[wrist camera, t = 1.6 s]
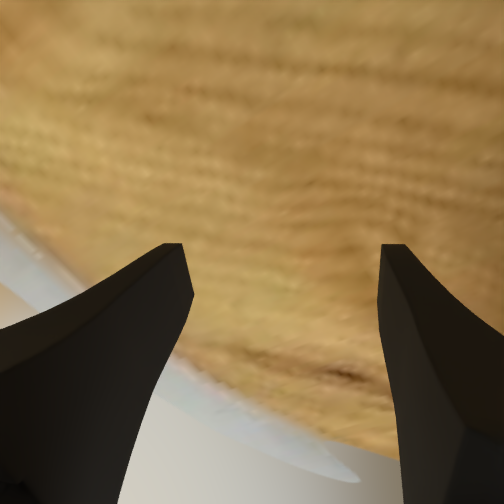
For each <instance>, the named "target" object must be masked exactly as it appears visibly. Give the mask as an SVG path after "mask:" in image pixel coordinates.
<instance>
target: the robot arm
mask: <svg viewBox="0 0 504 504" xmlns="http://www.w3.org/2000/svg"><path fill="white" fill-rule="evenodd" d="M193 298H194V291H193V287H192V283H191V279H190V275H189V271H188V266H187V262H186V258H185V254H184V250H183V246H182V243H164V244H162V245H160V246H158V247H156V248H154V249H153V250H151V251H149V252H148V253H146V254H144V255H143V256H141V257H140V258H138V259H137V260H135V261H133V262H132V263H130V264H129V265H127V266H126V267H124V268H122V269H121V270H119V271H118V272H116V273H115V274H113V275H111V276H110V277H108V278H106V279H105V280H103V281H101V282H100V283H98V284H96V285H94V286H93V287H91V288H89V289H88V290H86V291H84V292H83V293H81V294H79V295H77V296H75V297H73V298H71V299H69V300H67V301H65V302H63V303H61V304H59V305H57V306H55V307H53V308H51V309H49V310H47V311H44V312H42V313H40V314H37V315H35V316H33V317H30V318H28V319H25V320H23V321H20V322H18V323H16V324H13V325H11V326H8V327H6V328H3V329H0V504H117V502H118V498H119V494H120V491H121V487H122V484H123V480H124V477H125V474H126V470H127V466H128V463H129V460H130V456H131V453H132V450H133V447H134V444H135V441H136V438H137V435H138V432H139V429H140V426H141V423H142V420H143V417H144V415H145V412H146V409H147V406H148V403H149V400H150V398H151V395H152V392H153V390H154V388H155V386H156V383H157V381H158V379H159V377H160V375H161V373H162V371H163V369H164V366H165V364H166V362H167V360H168V358H169V356H170V354H171V352H172V350H173V348H174V346H175V344H176V342H177V340H178V338H179V336H180V333H181V331H182V329H183V327H184V325H185V323H186V320H187V317H188V314H189V311H190V308H191V304H192V301H193ZM377 306H378V321H379V332H380V337H381V343H382V348H383V353H384V358H385V362H386V367H387V372H388V377H389V382H390V387H391V392H392V397H393V402H394V408H395V415H396V424H397V434H398V444H399V455H400V466H401V477H402V488H403V500H404V504H504V336H503V335H502V334H500V333H499V332H498V331H496V330H495V329H494V328H492V327H491V326H489V325H488V324H487V323H485V322H484V321H483V320H481V319H480V318H479V317H477V316H476V315H475V314H474V313H472V312H471V311H470V310H469V309H468V308H466V307H465V306H464V305H463V304H462V303H461V302H460V301H459V300H457V299H456V298H455V297H454V296H453V295H452V294H451V293H450V292H449V291H448V290H447V289H446V288H445V287H444V286H443V285H442V284H441V283H440V282H439V281H438V280H437V279H436V278H435V277H434V276H433V275H432V274H431V273H430V272H429V271H428V270H427V269H426V267H425V266H424V265H423V264H422V263H421V262H420V261H419V260H418V258H417V257H416V256H415V255H414V254H413V253H412V251H411V250H410V249H409V248H408V247H407V246H406V245H405V244H382V245H381V258H380V271H379V284H378V297H377Z"/></svg>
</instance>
